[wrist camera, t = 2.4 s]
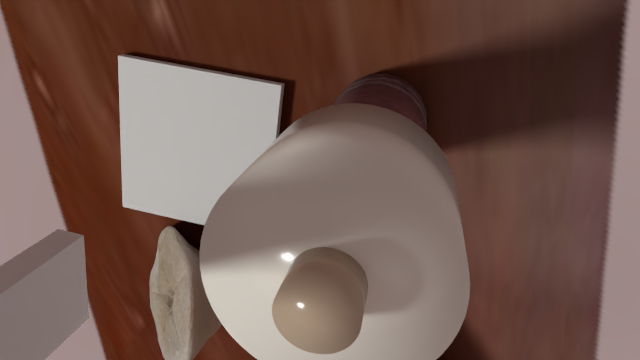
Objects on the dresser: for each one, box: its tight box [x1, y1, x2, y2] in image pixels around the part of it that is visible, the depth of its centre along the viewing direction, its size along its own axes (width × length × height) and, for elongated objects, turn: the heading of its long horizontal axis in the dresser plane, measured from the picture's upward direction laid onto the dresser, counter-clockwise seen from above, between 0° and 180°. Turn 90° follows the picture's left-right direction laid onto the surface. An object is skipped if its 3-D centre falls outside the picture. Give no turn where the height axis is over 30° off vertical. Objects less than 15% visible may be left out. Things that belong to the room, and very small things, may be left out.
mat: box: [118, 54, 285, 225], centre depth 35 cm, size 12×12×1 cm
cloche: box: [199, 103, 470, 360], centre depth 16 cm, size 8×8×8 cm
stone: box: [150, 226, 222, 360], centre depth 37 cm, size 10×7×10 cm
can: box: [333, 73, 427, 132], centre depth 26 cm, size 6×6×14 cm
